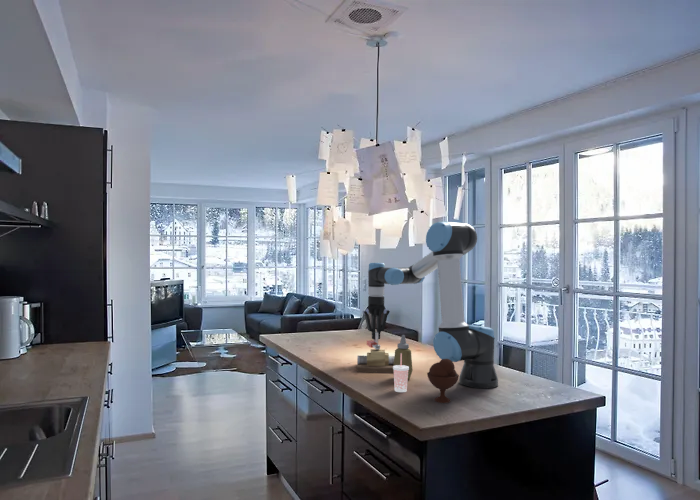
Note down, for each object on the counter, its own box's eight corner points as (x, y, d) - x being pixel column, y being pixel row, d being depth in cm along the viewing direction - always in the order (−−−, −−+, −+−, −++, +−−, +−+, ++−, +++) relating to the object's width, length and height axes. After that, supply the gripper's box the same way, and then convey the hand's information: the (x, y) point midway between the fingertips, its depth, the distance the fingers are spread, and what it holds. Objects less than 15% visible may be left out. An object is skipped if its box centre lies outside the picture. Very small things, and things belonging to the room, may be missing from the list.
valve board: (398, 372, 222) (398, 354, 222) (357, 371, 223) (357, 353, 223) (396, 365, 236) (397, 348, 236) (357, 364, 237) (357, 347, 237)
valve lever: (381, 350, 229) (381, 345, 229) (375, 350, 228) (375, 345, 228) (372, 344, 242) (372, 339, 242) (366, 345, 242) (366, 340, 242)
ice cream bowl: (453, 396, 188) (454, 355, 188) (461, 405, 176) (461, 361, 176) (424, 396, 187) (425, 355, 187) (430, 405, 176) (431, 361, 176)
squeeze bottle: (396, 381, 207) (397, 337, 207) (390, 376, 215) (390, 333, 215) (415, 380, 209) (416, 336, 209) (408, 375, 217) (408, 333, 217)
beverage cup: (408, 393, 191) (408, 355, 191) (391, 392, 192) (392, 354, 192) (409, 388, 197) (409, 352, 197) (393, 387, 198) (393, 351, 198)
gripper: (386, 294, 245) (385, 344, 246) (360, 295, 241) (360, 345, 242) (392, 296, 238) (391, 347, 238) (365, 296, 234) (365, 348, 234)
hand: (375, 346), depth 240 cm, fingers closed
